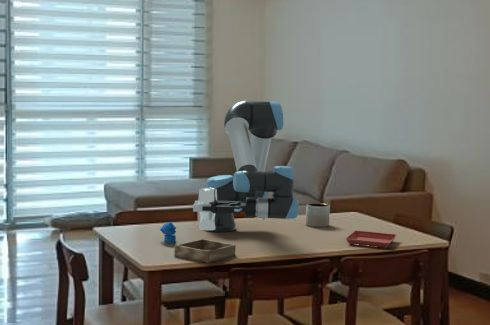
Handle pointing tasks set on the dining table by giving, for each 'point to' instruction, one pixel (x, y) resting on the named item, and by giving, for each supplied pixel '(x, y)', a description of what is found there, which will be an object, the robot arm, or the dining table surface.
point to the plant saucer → (370, 238)
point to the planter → (317, 214)
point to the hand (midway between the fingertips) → (194, 206)
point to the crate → (205, 250)
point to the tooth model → (207, 217)
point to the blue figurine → (169, 232)
